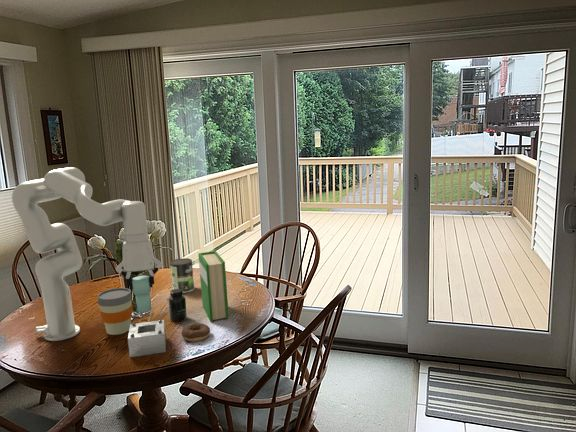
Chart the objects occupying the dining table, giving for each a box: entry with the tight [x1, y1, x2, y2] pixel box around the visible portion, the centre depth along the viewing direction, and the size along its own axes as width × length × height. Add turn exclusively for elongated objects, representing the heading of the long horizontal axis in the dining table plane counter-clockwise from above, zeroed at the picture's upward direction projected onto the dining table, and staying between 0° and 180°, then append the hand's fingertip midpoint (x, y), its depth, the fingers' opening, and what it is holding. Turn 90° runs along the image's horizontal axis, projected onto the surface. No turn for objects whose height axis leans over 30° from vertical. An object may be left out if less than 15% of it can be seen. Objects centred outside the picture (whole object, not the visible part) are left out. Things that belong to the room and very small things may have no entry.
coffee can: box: [169, 257, 195, 294], centre depth 227 cm, size 10×10×14 cm
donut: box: [180, 322, 211, 342], centre depth 178 cm, size 11×11×4 cm
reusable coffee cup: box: [97, 287, 133, 336], centre depth 186 cm, size 13×13×15 cm
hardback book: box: [198, 250, 230, 323], centre depth 197 cm, size 18×7×24 cm, turn 20°
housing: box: [127, 319, 167, 358], centre depth 171 cm, size 12×12×8 cm
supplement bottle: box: [168, 289, 188, 322], centre depth 194 cm, size 7×7×12 cm
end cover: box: [132, 275, 153, 314], centre depth 168 cm, size 6×6×12 cm
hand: (141, 286), depth 167 cm, fingers closed on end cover, 6 cm apart
